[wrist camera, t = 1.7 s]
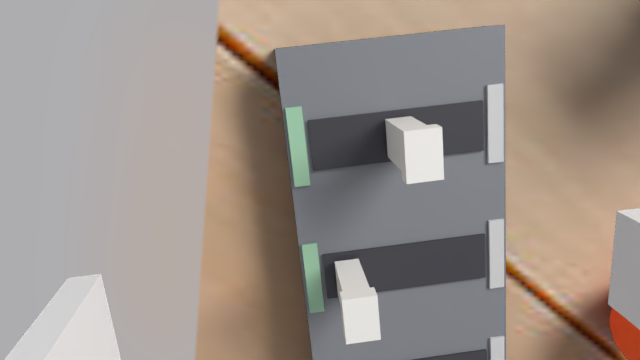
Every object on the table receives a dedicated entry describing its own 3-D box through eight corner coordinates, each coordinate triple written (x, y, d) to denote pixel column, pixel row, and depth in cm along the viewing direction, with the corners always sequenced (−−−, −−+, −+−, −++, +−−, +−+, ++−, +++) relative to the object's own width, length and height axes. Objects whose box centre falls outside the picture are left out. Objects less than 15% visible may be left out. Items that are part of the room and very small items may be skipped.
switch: (416, 156, 32) (444, 179, 27) (384, 160, 32) (406, 184, 27) (413, 112, 31) (442, 126, 26) (381, 116, 31) (403, 131, 26)
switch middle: (364, 293, 34) (380, 339, 29) (335, 297, 34) (346, 344, 29) (361, 255, 33) (377, 295, 28) (331, 259, 33) (341, 300, 28)
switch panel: (490, 405, 42) (507, 434, 39) (321, 430, 41) (325, 462, 38) (485, 26, 34) (506, 24, 31) (274, 48, 33) (274, 49, 30)
